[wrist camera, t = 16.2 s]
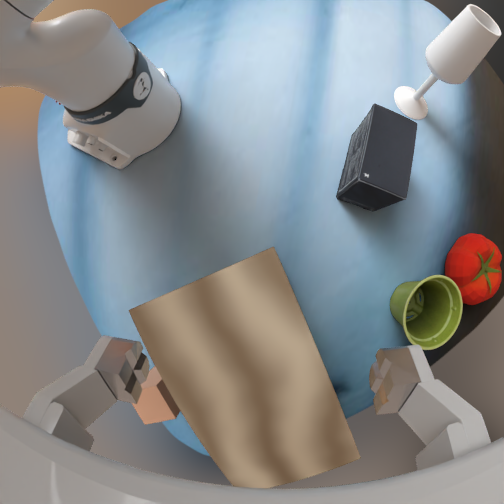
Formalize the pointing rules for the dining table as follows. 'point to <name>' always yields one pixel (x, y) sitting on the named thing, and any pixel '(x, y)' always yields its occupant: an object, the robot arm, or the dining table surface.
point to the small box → (378, 160)
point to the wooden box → (248, 374)
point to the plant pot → (428, 310)
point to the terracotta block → (155, 400)
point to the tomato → (474, 268)
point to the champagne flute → (451, 57)
